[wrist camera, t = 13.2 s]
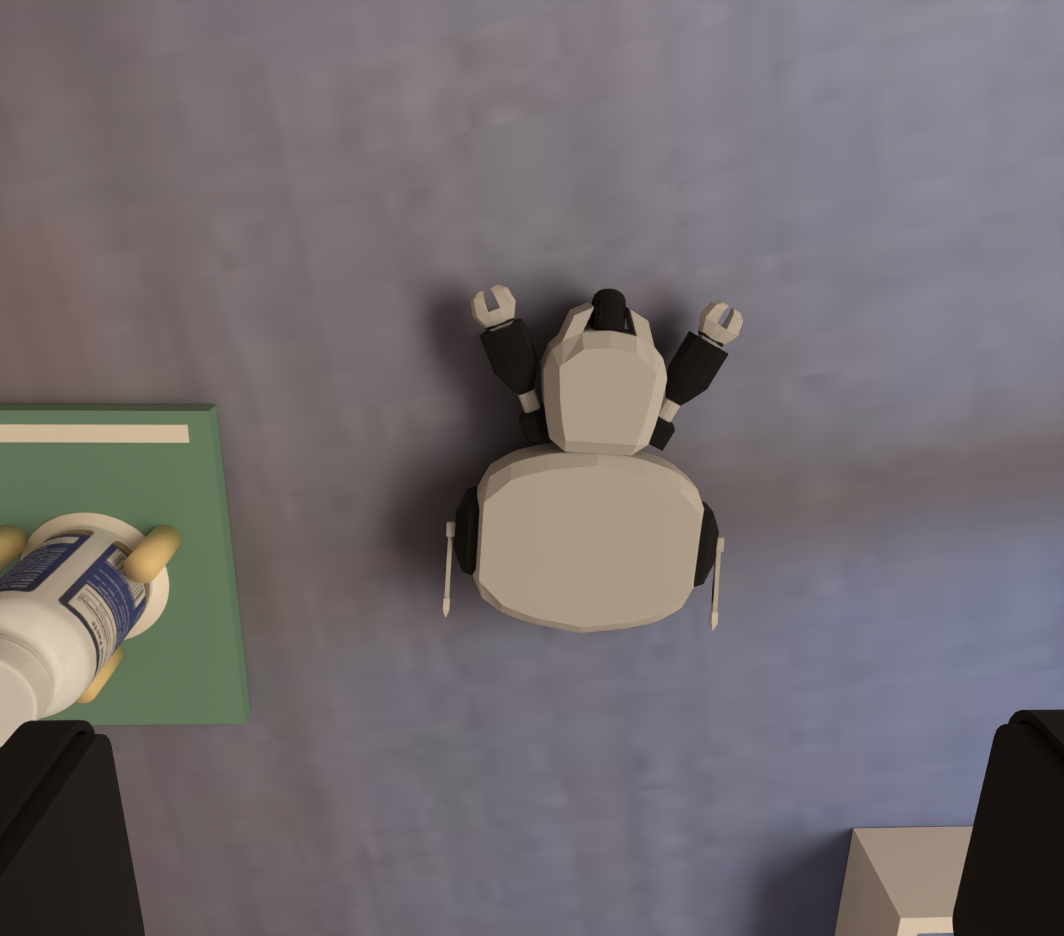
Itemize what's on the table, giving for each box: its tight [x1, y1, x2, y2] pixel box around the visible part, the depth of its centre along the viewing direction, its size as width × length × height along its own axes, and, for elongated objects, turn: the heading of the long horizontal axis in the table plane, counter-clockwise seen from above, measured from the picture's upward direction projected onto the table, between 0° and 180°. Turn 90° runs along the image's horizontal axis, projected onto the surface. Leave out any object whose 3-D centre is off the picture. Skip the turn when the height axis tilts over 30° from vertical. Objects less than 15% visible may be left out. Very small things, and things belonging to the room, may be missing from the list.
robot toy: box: [443, 285, 743, 633], centre depth 38 cm, size 12×4×15 cm
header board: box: [0, 404, 250, 725], centre depth 39 cm, size 16×12×4 cm
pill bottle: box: [0, 526, 153, 746], centre depth 35 cm, size 5×5×10 cm
